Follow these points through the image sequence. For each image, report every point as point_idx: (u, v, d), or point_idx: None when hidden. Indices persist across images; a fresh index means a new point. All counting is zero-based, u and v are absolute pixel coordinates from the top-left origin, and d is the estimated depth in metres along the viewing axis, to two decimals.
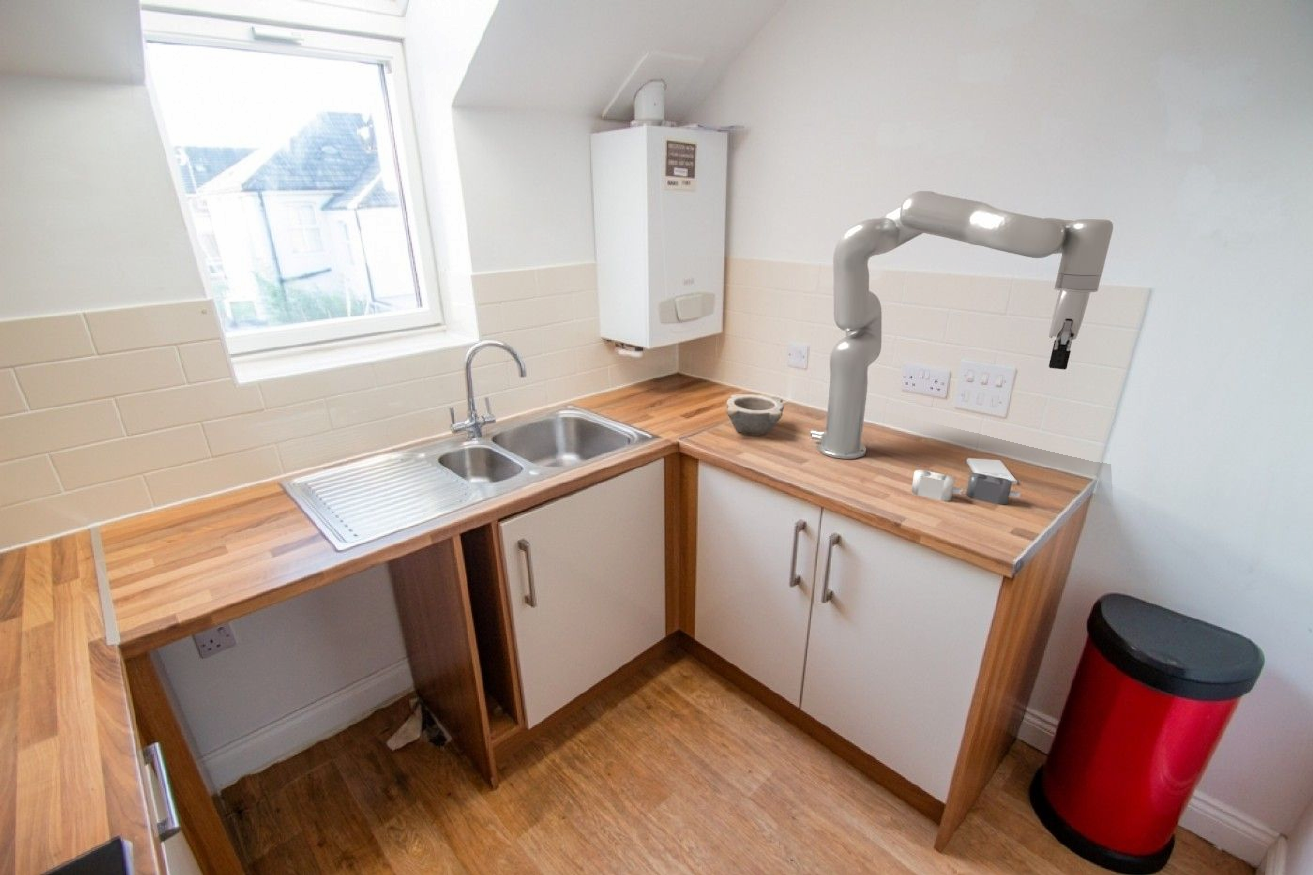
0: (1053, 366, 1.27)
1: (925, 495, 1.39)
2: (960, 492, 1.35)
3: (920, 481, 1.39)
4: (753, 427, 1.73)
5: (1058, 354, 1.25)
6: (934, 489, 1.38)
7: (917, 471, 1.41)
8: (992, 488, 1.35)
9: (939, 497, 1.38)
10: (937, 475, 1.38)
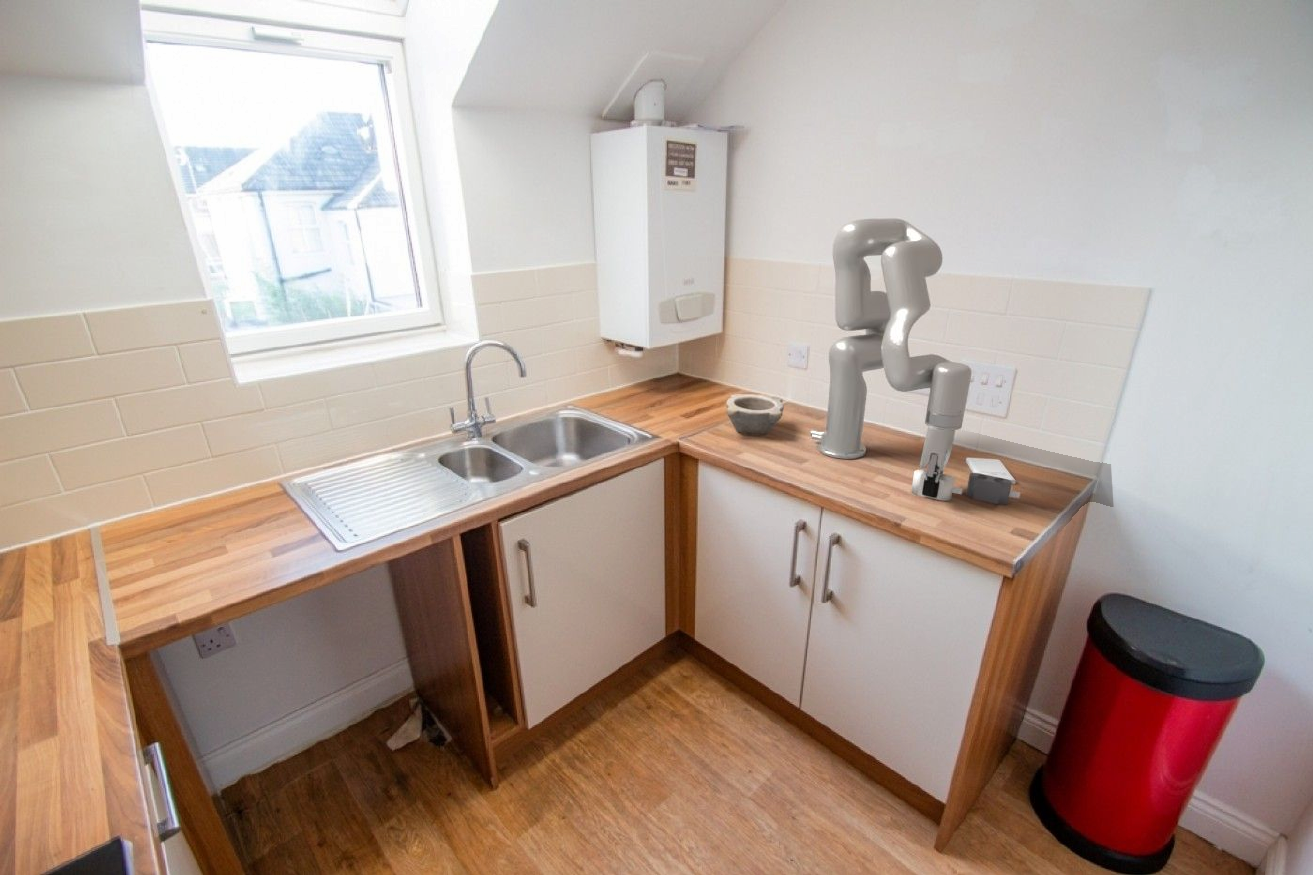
0: (925, 494, 1.38)
1: None
2: (960, 492, 1.35)
3: (920, 481, 1.39)
4: (753, 427, 1.73)
5: (929, 485, 1.37)
6: None
7: (917, 471, 1.40)
8: (992, 488, 1.35)
9: (939, 497, 1.38)
10: None
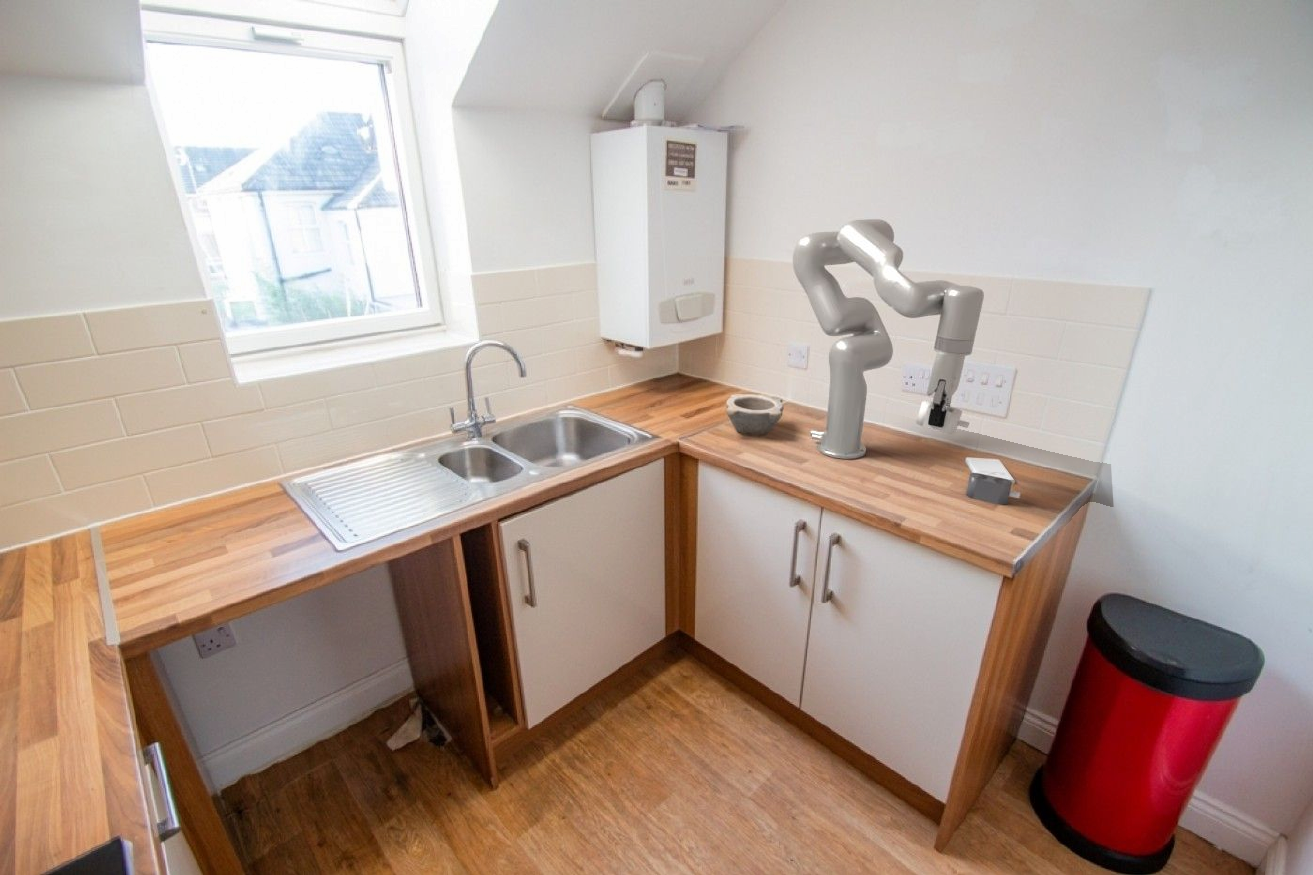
0: (931, 423, 1.36)
1: (930, 427, 1.37)
2: (966, 425, 1.34)
3: (927, 412, 1.37)
4: (753, 427, 1.73)
5: (935, 413, 1.34)
6: None
7: (925, 402, 1.38)
8: (992, 488, 1.35)
9: (944, 429, 1.36)
10: None
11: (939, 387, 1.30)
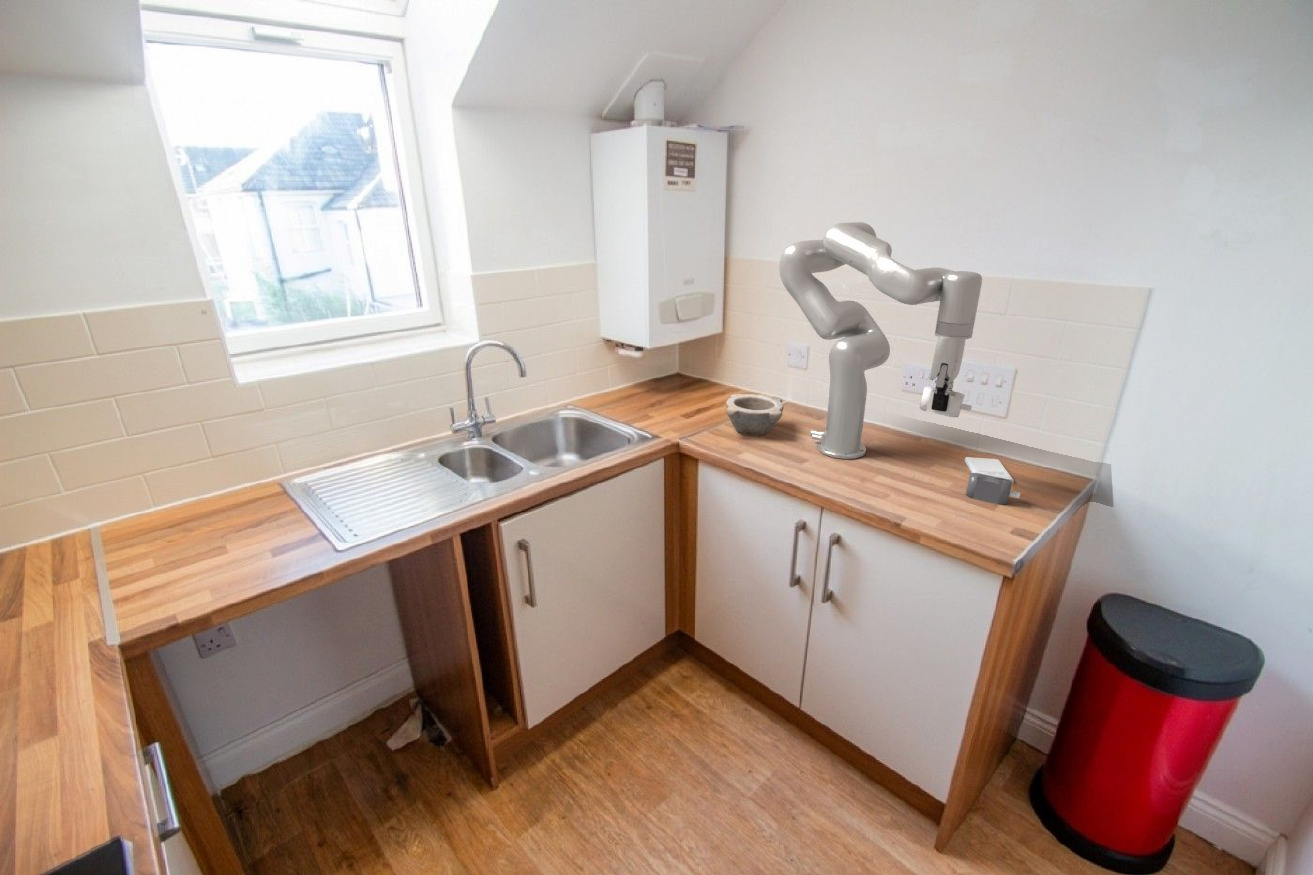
0: (935, 408, 1.38)
1: (933, 411, 1.39)
2: (969, 408, 1.35)
3: (929, 397, 1.39)
4: (753, 427, 1.73)
5: (938, 398, 1.36)
6: None
7: (927, 387, 1.40)
8: (992, 488, 1.35)
9: (947, 413, 1.38)
10: None
11: (942, 371, 1.32)
